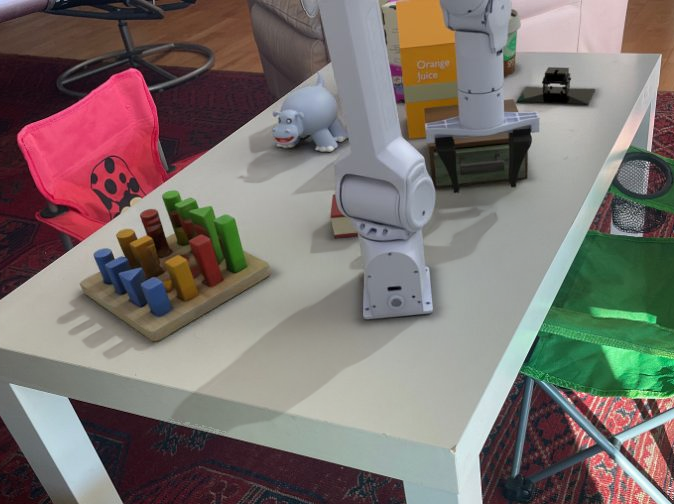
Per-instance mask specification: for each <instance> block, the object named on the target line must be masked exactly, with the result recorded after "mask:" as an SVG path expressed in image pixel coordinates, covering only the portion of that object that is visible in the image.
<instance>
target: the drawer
mask: <svg viewBox="0 0 674 504" xmlns="http://www.w3.org/2000/svg"><path fill="white" fill-rule="evenodd" d="M455 150H456V171H457V178H458V184H462V183H471V182H481V181H491V180H501V179H509V143H501V144H491V145H481V146H472V147H462V148H455ZM434 163H435V176H436V186H442V185H452V182H451V179H450V176H449V174H448V171H447V169H446V167H445V165H444V163H443V162H442V160H441V158H440V157H439V155H438V153H437V151H436V152H434ZM521 177H525V157H524V159H523V162H522V164H521V167H520V170H519V173H518V177H517V178H521Z"/></svg>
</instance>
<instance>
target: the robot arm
mask: <svg viewBox="0 0 674 504" xmlns="http://www.w3.org/2000/svg"><path fill="white" fill-rule="evenodd" d="M316 2H317V7H318V11H319V15H320V18H321V23H322V28H323V31H324V37H325V41H326V45H327V50H328V54H329V59H330V63H331V67H332V72H333V76H334V77H333V78H334V81H335V85H336V89H337V90H336V91H337V95H338V98H339V103H340V107H341V111H342V116H343V120H344V124H345V125H344V126H345V129H346V131H347V134H348V138H347V139H348V143H349V145H347V147H345V148H344V149H343V150H342V152H340V153H339V155H338V156H337V158H336V159H335V161H334V163H333V169H334V174H335V175H334V176H335V187H334V190H335V191H334V195H335V197H336V202H337V206H338V208H339V210H340V212H341V213H342V214H343V215H344V216H346V217H350V222H351V227H353V228H355V229H357V232H358V236H357V238H358V244H359V249H360V255H361V261H362V262H361V263H362V268H363V269H362V270H363V274H364V275H363V300H362V303H363V304H362V318H363V319H364V320H376V319H384V318H396V317H405V316H415V315H417V316H418V315H424V314H425V315H426V314H431V313H433V311H434V308H433V296H432V285H431V275H430V268H429V266H427V265H426V259H425V248H424V239H423V228H424V227H425V226H426V225H427V223H428V222H429V221H430V220H431V218H432V215H433V212H434V209H435V205H436V188H434V185H433V182H432V179H431V175H430V174H429V172H428V170H427V167H426V161H425V160H426V159H425V157H424V156H423V155H422V154H421V153H420V152H419V151H418V150H417V149H416V148H415V147H414V146H412V144H410V143H409V142H408V141H407V140H406V139H405V138H404V137H403V135H402V131H401V125H400V119H399V118H400V117H399V114H398V113H399V112H398V107H397V102H396V100H395V95H394V89H393V83H392V77H391V71H390V65H389V60H388V54H387V48H386V42H385V36H384V31H383V25H382V19H381V13H380V7H379V1H378V0H316ZM439 3H440V7H441V8H442V11H443V19H444V23H445V26H446V28H449V29H450V30H451V31H455V50H456V67H457V85H458V105H459V116H458V117H454V118H450V119H446V120H442V121H438V122H433V123H425V130H426V137H425V140H426V144H428V143H435V145H436V151H437V153H438V155H439V157H440V158H441V160H442V162H443V163H444V165H445V167H446V169H447V171H448V174H449V176H450V179H451V182H452V185H453V186H452V190H453V194H459V193H460V185H458V178H457V171H456V150H455V143H454V139H456V138H466V137H476V136H486V135H495V134H505V133H508V135H509V180H508V182H509V186H510V188H516V187H517V181H518V179H517V177H518V173H519V170H520V167H521V164H522V162H523V159H524V157H525V155H526V153H527V151H528V152H529V149H530V148H531V146H532V143H533V136H532V134H533V133H540V122H541V121H540V120H541V119H540V118H541V117H540V116H539V113H538V112H537V111H531V112H530V111H529V112H520V111H518V112H504V100H505V87H504V84H505V83H504V82H505V81H504V78H505V77H504V73H503V47H504V46H505V45H506V43H507V39H508V24H509V20H510V16H511V10H512V9H513V8H512V7H513V0H440V1H439Z"/></svg>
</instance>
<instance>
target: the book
mask: <svg viewBox="0 0 674 504" xmlns="http://www.w3.org/2000/svg"><path fill="white" fill-rule="evenodd" d="M330 220H331V226H332V229H333V236H334V239H341V238H351V237H358V232H357V229H355V228H353V227H351V222H350V217H346V216H344V215H343V214H342V213H341V212H340V210H339V208H338V206H337V202H336V197H335V194H332V199H331V208H330Z"/></svg>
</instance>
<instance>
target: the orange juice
mask: <svg viewBox="0 0 674 504" xmlns="http://www.w3.org/2000/svg"><path fill="white" fill-rule="evenodd" d="M439 1H440V0H407V1H397V2H396V11H397V22H398V33H399V45H400V56H401V65H402V66H401V67H402V75H403V88H404V98H405V102H404V104H405V114H406V122H407V123H406V124H407V133H408V134H407V135H408V139H409V140H411V139H413V140H414V139H422V138H426V130H425V111H424V108H432V107H442V106H451V105H458V85H457V67H456V50H455V32H456V31H451V30H450V29H449V28H446V26H445V23H444V19H443V11H442V8H441V7H440V3H439Z"/></svg>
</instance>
